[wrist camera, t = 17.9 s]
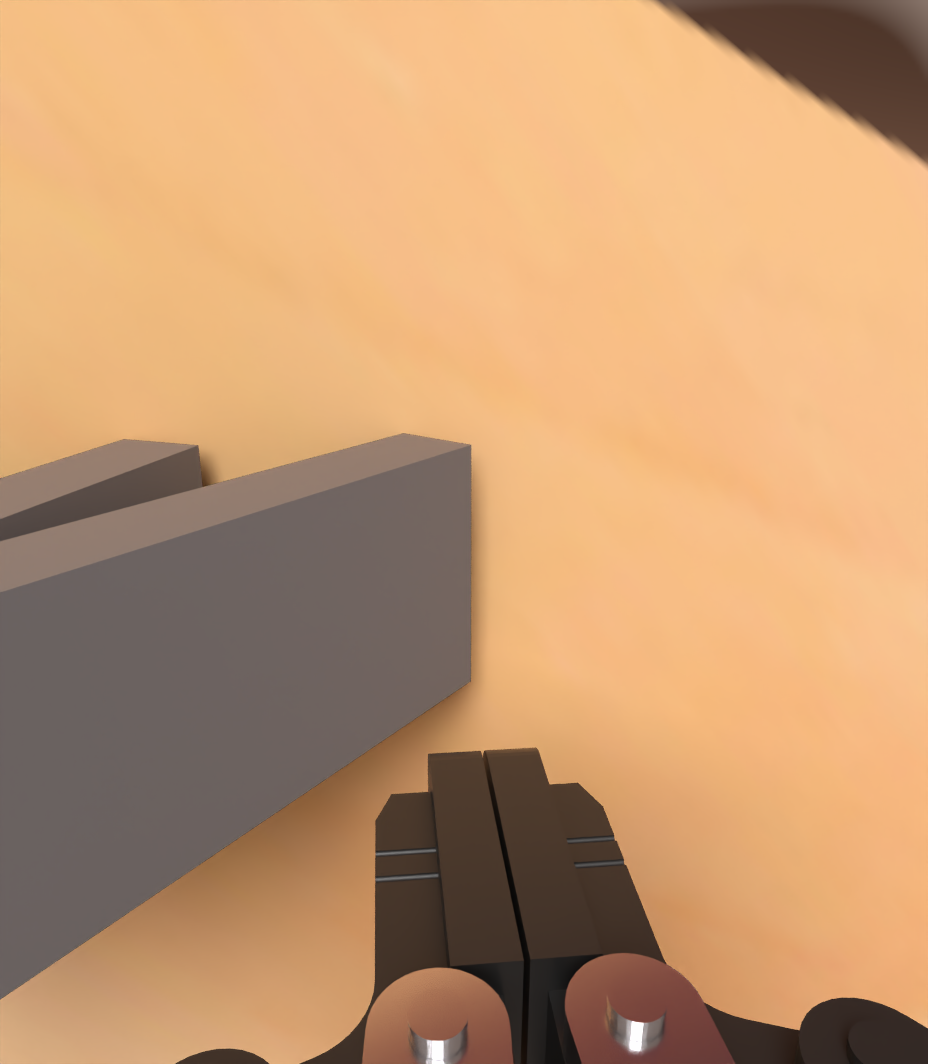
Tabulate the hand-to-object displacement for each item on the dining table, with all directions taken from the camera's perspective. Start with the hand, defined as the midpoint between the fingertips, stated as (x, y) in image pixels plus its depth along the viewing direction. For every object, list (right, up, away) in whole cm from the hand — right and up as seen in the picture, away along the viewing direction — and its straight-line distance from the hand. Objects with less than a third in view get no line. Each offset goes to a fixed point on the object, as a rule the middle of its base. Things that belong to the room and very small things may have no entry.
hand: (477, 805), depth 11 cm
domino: (-1, +3, +9) cm, 9 cm away
